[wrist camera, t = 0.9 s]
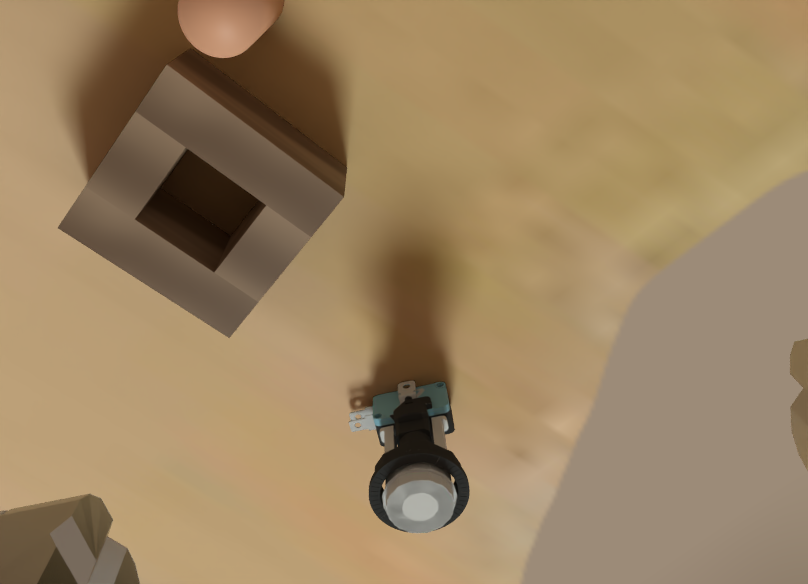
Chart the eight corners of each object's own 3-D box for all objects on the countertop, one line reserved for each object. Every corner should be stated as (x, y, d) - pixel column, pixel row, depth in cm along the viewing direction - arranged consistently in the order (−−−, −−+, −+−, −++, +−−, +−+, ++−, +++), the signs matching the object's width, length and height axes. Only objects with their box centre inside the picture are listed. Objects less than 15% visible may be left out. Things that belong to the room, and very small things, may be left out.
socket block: (190, 48, 39) (166, 64, 34) (347, 167, 42) (343, 196, 37) (91, 195, 42) (57, 227, 38) (243, 296, 45) (229, 338, 41)
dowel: (243, -54, 37) (207, -48, 29) (297, -9, 38) (276, 9, 30) (206, 1, 38) (161, 21, 30) (260, 43, 39) (230, 74, 31)
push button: (360, 444, 50) (357, 559, 41) (340, 377, 48) (332, 482, 39) (460, 424, 50) (479, 535, 41) (444, 355, 47) (461, 456, 38)
